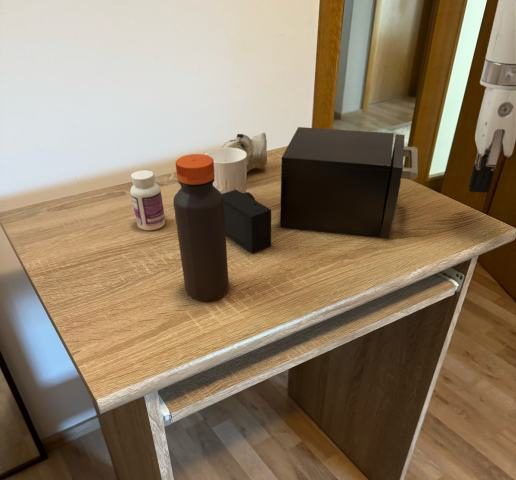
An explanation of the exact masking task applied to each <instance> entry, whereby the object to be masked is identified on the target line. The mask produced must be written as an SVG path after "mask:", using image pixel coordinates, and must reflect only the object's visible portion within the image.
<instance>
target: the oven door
mask: <svg viewBox="0 0 516 480" xmlns="http://www.w3.org/2000/svg"><path fill="white" fill-rule="evenodd" d="M394 136H395V137H394V141H393V148H392V158H391V167H390V173H389V179H388V185H387V191H386V197H385V203H384V209H383V214H382V220H381V226H380V233H379V237H380V238H384V239H386V238H387V239H390V237H391V231H392V226H393V222H394V218H395V213H396V208H397V203H398V199H399V194H400V193H399V192H400V189H401V183H402V182H401V181H402V179H403V180H411V181H415V180H417V179H418V177H419V172H418V171H419V168H418V167H419V166H418V165H419V163H418V161H419V160H418V159H419V157H418V154H419V153H418V147H416V146H405V137H406V135H405V134H399V133H398V134H395V135H394ZM404 158H409V159H408V167H405V166H404Z"/></svg>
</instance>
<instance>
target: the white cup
mask: <svg viewBox="0 0 516 480" xmlns="http://www.w3.org/2000/svg"><path fill="white" fill-rule="evenodd" d="M204 155H208V156H210V157H212V159H213V160H214V174H215V177H214V179H215V181H214V182H213V186H214V187H215V188H216V189H218V190H219V191H220V193H221V194H223V193H226V192H230V191H233V190H238V191H239V192H241V193H246V192H247V180H248V179H247V178H248V177H247V174H248V171H247V153H246V152H245V151H243V150H241V149H238V148H229V147H226V148H222V147H218V148H217V147H216V148H213V149H210V150H208V151H207V152H206V153H205V154H204Z"/></svg>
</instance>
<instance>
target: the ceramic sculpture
mask: <svg viewBox="0 0 516 480" xmlns="http://www.w3.org/2000/svg"><path fill="white" fill-rule="evenodd" d="M267 141H268V140H267V134H266V132H262V133H259V134H257V135H253V136H252V137H251V138H250V137H249V135H247V134H246V135H245V134H243V133H238V134H236V137H235V139H230V140H229V141H227V142H225V143H224V144H223V146H222V147H221V148H226V147H229V148H238V149H241V150H243V151H245V152H246V153H247V172H249V171H251V170H253V169H254V168H255V169H260V170H261V169H264V168H265V167H266V165H267V163H268V151H267V150H268V149H267V147H268V145H267Z"/></svg>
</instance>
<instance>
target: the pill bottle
mask: <svg viewBox="0 0 516 480" xmlns="http://www.w3.org/2000/svg"><path fill="white" fill-rule="evenodd" d="M130 177H131V183H132V186H131V187H130V197H131V202H132V207H133V211H134V216H135V217H134V218H135V221H136V225H137V227H138V228H139V229H141V230H143V231H155V230H158V229H160V228H163V226H165V224H166V215H165V210H164V203H163V196H162V192H161V191H162V190H161V186H160V185H159V184H158V183H157V182H156V177H155V173H154V172H153V171H152V170H145V169H143V170H136V171H135V172H132V173H131V175H130Z"/></svg>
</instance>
